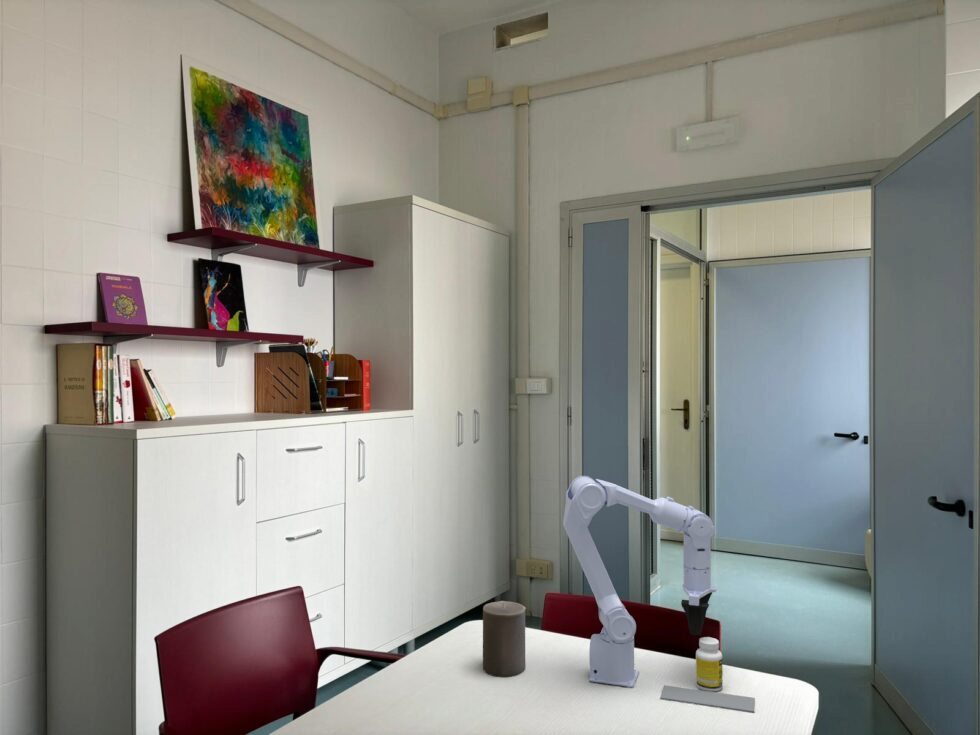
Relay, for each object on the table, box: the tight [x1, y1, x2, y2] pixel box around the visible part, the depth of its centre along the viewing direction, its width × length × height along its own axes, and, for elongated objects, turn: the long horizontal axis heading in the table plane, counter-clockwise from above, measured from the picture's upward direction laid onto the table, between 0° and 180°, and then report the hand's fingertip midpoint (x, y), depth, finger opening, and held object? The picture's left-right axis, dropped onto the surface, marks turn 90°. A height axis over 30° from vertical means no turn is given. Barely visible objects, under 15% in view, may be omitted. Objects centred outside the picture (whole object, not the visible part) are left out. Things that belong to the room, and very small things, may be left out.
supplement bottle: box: [695, 636, 724, 692], centre depth 152 cm, size 5×5×10 cm
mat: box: [659, 684, 756, 713], centre depth 146 cm, size 18×6×1 cm, turn 69°
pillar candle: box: [482, 600, 527, 678], centre depth 163 cm, size 10×10×15 cm
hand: (697, 628), depth 158 cm, fingers open, 7 cm apart
